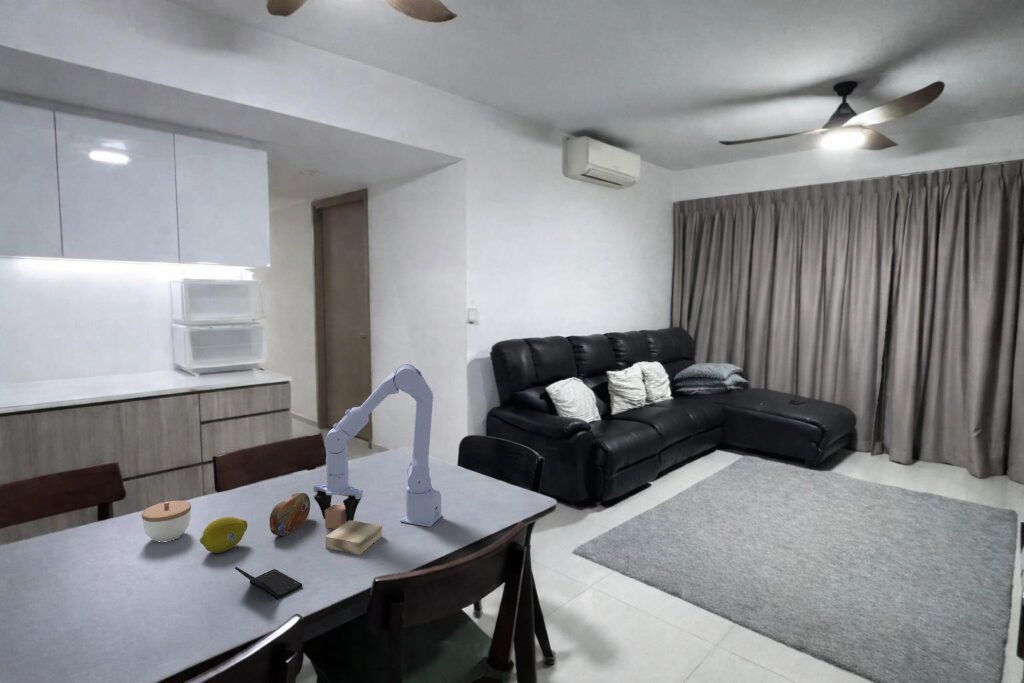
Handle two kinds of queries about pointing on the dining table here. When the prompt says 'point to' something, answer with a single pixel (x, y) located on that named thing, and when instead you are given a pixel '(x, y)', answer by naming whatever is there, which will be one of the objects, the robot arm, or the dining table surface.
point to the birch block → (353, 537)
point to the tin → (289, 514)
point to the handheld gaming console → (273, 583)
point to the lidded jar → (166, 520)
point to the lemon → (223, 534)
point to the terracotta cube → (335, 516)
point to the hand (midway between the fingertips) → (338, 519)
